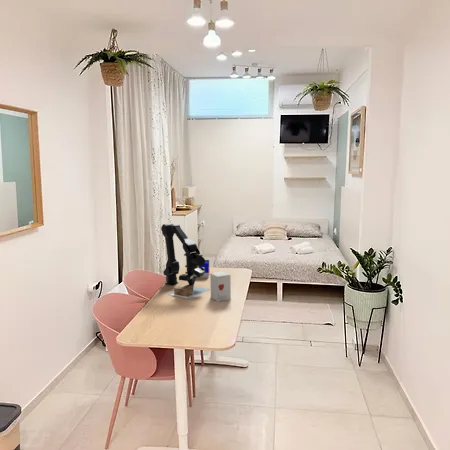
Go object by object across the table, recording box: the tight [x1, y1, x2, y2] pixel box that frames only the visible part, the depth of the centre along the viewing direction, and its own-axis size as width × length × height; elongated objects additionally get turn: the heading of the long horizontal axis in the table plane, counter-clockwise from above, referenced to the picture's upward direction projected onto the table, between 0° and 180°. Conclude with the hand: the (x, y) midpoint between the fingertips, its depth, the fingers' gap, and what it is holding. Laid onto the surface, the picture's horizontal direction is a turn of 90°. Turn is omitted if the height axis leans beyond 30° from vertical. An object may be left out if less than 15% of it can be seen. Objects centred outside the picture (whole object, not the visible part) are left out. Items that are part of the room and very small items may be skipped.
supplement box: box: [209, 271, 232, 303], centre depth 250 cm, size 9×9×15 cm
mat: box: [166, 285, 211, 300], centre depth 265 cm, size 18×22×1 cm
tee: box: [173, 284, 193, 297], centre depth 262 cm, size 10×10×4 cm
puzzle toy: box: [197, 259, 210, 279], centre depth 302 cm, size 10×10×10 cm
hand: (192, 288), depth 268 cm, fingers closed
